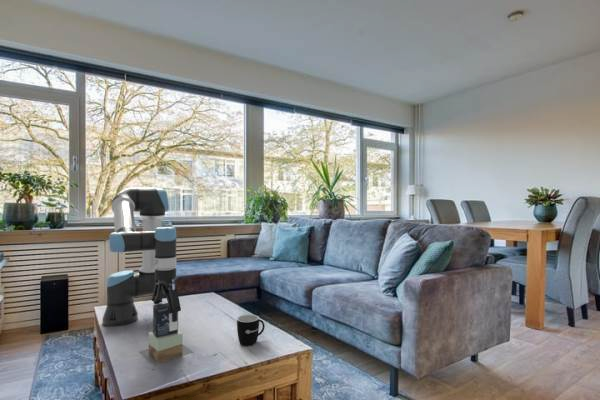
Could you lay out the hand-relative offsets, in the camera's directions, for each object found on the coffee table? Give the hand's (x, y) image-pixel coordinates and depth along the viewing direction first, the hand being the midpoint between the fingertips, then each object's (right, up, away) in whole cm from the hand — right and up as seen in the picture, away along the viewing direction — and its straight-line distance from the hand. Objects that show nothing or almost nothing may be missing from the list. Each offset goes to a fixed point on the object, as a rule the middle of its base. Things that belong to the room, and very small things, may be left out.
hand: (165, 325), depth 125 cm
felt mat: (-1, -11, +2) cm, 12 cm away
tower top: (0, -7, 0) cm, 7 cm away
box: (0, -3, 0) cm, 3 cm away
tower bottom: (0, -11, 0) cm, 11 cm away
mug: (+30, -12, +12) cm, 35 cm away
